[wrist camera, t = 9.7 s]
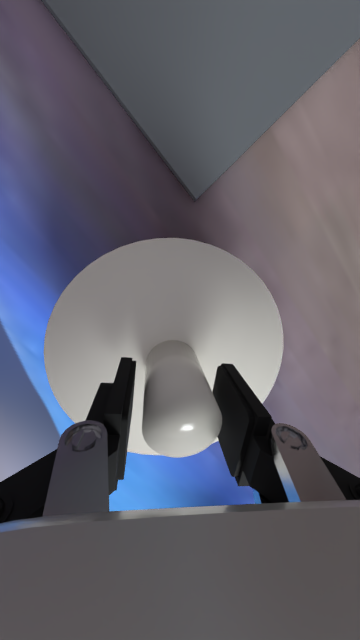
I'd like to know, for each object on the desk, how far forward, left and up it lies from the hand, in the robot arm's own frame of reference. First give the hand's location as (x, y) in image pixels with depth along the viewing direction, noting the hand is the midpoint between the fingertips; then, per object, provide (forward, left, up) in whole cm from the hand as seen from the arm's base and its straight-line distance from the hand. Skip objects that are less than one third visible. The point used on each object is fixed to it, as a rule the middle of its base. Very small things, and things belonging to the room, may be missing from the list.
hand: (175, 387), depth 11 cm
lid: (0, 0, -3) cm, 3 cm away
